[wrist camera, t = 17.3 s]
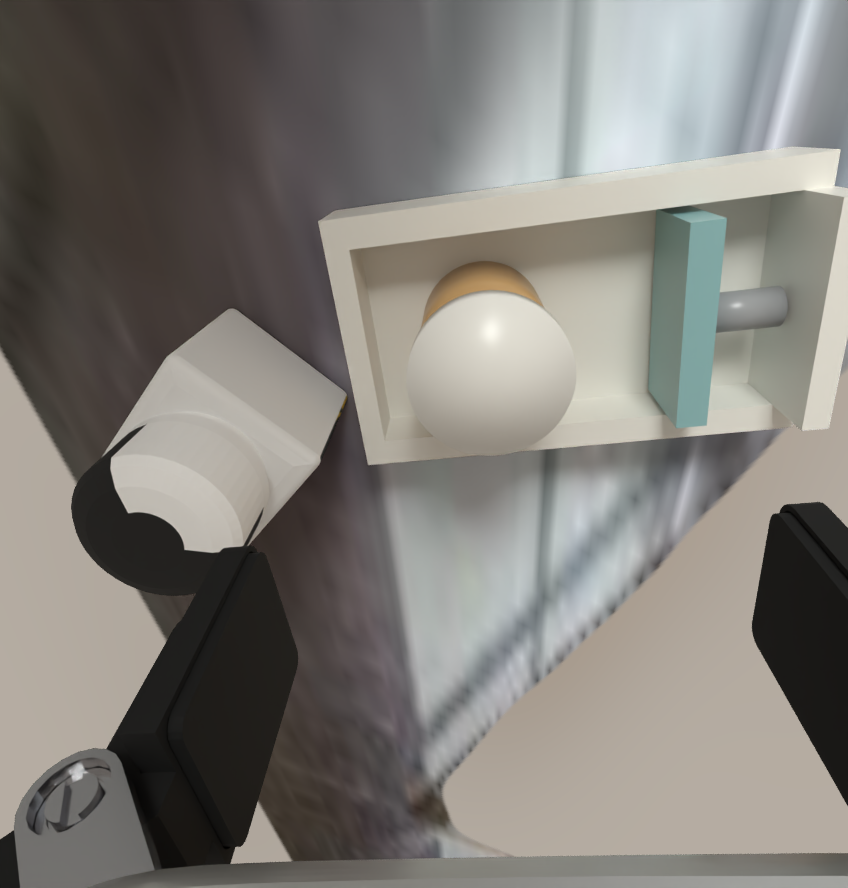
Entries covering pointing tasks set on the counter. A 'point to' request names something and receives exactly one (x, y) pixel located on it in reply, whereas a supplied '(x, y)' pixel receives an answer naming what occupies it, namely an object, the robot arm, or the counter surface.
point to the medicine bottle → (205, 457)
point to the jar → (489, 362)
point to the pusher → (696, 310)
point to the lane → (607, 292)
